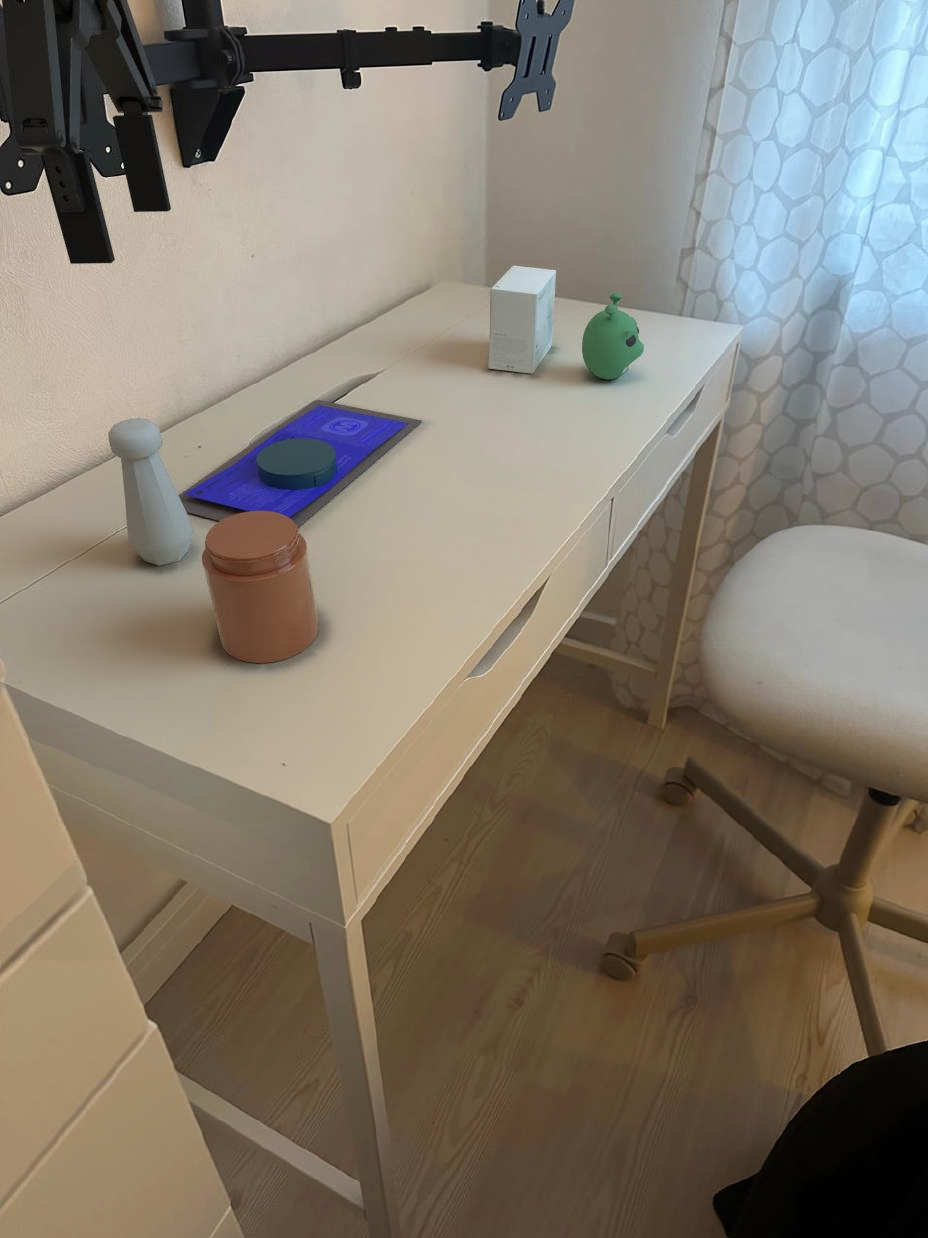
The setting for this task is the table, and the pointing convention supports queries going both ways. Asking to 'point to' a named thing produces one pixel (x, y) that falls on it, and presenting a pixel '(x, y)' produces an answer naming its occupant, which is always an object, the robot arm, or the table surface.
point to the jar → (260, 586)
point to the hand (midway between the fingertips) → (125, 234)
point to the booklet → (338, 425)
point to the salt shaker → (150, 494)
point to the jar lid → (297, 464)
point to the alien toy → (611, 342)
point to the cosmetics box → (521, 319)
